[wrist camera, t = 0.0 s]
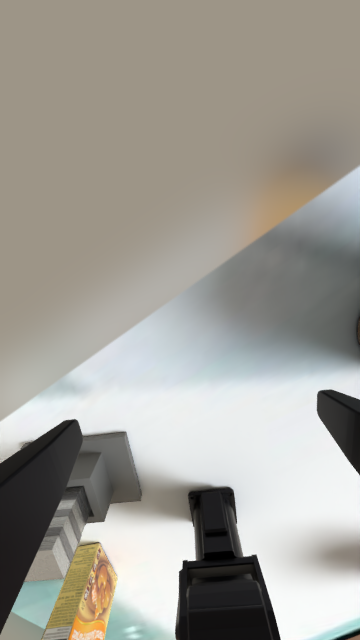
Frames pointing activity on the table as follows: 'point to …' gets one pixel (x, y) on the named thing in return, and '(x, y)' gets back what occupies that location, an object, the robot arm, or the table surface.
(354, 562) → the table surface
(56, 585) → the table surface
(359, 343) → the plant pot
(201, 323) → the table surface
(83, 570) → the candy box
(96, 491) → the stand base
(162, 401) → the table surface
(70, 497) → the column
